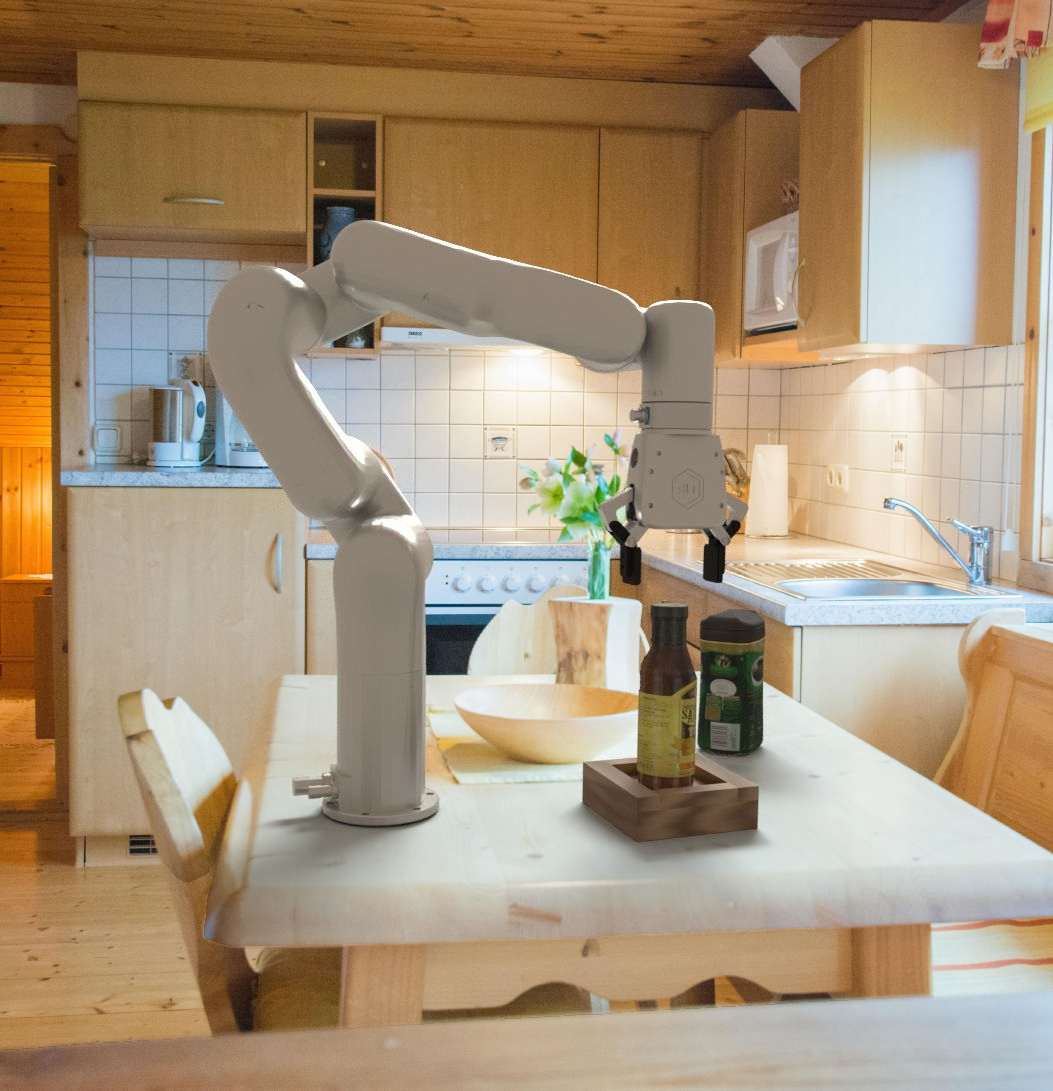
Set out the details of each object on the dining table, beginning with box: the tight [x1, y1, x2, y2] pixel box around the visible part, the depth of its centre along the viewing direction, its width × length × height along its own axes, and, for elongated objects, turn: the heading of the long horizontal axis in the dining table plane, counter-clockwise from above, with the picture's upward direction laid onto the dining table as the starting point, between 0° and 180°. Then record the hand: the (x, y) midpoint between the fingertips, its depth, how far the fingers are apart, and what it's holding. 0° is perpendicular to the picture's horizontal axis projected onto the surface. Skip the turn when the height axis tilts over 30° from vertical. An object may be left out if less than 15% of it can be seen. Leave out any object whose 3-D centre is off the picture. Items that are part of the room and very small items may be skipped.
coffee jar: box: [696, 608, 766, 756], centre depth 151 cm, size 10×8×19 cm
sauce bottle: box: [636, 602, 698, 790], centre depth 122 cm, size 7×6×20 cm
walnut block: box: [581, 752, 760, 843], centre depth 123 cm, size 14×14×4 cm
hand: (672, 582), depth 121 cm, fingers open, 9 cm apart
